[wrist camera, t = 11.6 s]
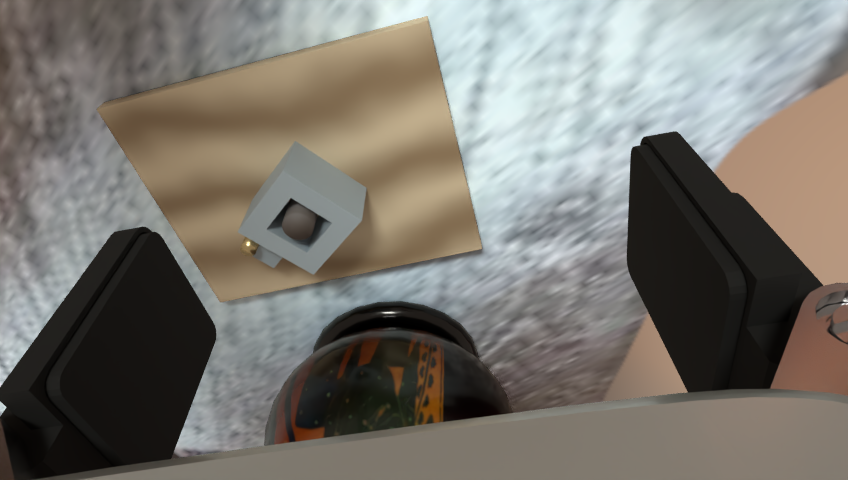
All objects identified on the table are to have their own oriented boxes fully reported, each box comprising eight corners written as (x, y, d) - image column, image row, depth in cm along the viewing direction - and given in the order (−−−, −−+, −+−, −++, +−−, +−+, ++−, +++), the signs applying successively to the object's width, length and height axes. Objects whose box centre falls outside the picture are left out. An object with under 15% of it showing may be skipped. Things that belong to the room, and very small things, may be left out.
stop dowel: (248, 219, 44) (237, 245, 41) (262, 216, 44) (252, 242, 41) (255, 231, 45) (244, 257, 42) (268, 228, 45) (258, 254, 42)
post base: (104, 102, 40) (59, 140, 35) (427, 15, 36) (429, 44, 31) (224, 293, 50) (202, 343, 45) (480, 240, 47) (488, 288, 42)
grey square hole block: (295, 140, 40) (282, 170, 37) (366, 187, 43) (361, 220, 39) (234, 223, 44) (218, 257, 41) (302, 262, 47) (293, 297, 43)
